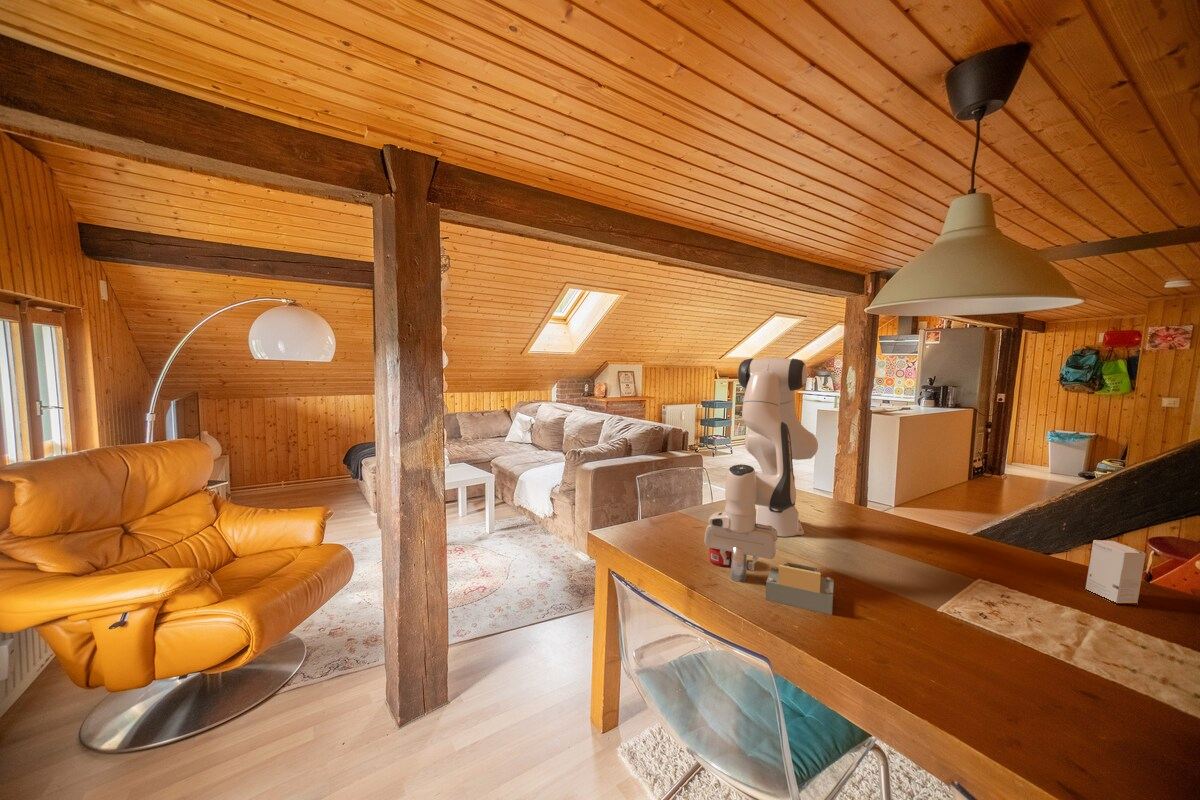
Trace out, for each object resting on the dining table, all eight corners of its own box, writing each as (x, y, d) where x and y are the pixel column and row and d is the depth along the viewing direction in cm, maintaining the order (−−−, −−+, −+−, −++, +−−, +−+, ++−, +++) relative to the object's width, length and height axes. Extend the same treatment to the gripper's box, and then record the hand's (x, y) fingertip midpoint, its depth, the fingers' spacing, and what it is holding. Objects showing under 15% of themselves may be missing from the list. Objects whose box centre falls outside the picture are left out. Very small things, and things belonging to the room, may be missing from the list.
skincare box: (1084, 590, 129) (1089, 539, 128) (1106, 590, 129) (1111, 539, 127) (1118, 606, 120) (1123, 551, 119) (1141, 606, 120) (1146, 551, 119)
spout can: (732, 573, 139) (733, 537, 138) (747, 576, 137) (748, 539, 136) (729, 579, 135) (730, 542, 134) (744, 583, 133) (745, 545, 132)
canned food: (735, 568, 142) (736, 533, 142) (709, 566, 144) (710, 532, 143) (733, 558, 150) (734, 525, 149) (708, 556, 152) (709, 523, 151)
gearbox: (771, 583, 132) (772, 550, 132) (832, 597, 125) (834, 561, 124) (765, 599, 124) (766, 563, 123) (832, 614, 116) (833, 576, 115)
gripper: (779, 523, 132) (777, 569, 133) (708, 512, 142) (707, 555, 143) (776, 530, 127) (774, 578, 128) (703, 518, 136) (702, 563, 137)
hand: (738, 566), depth 135 cm, fingers open, 6 cm apart
